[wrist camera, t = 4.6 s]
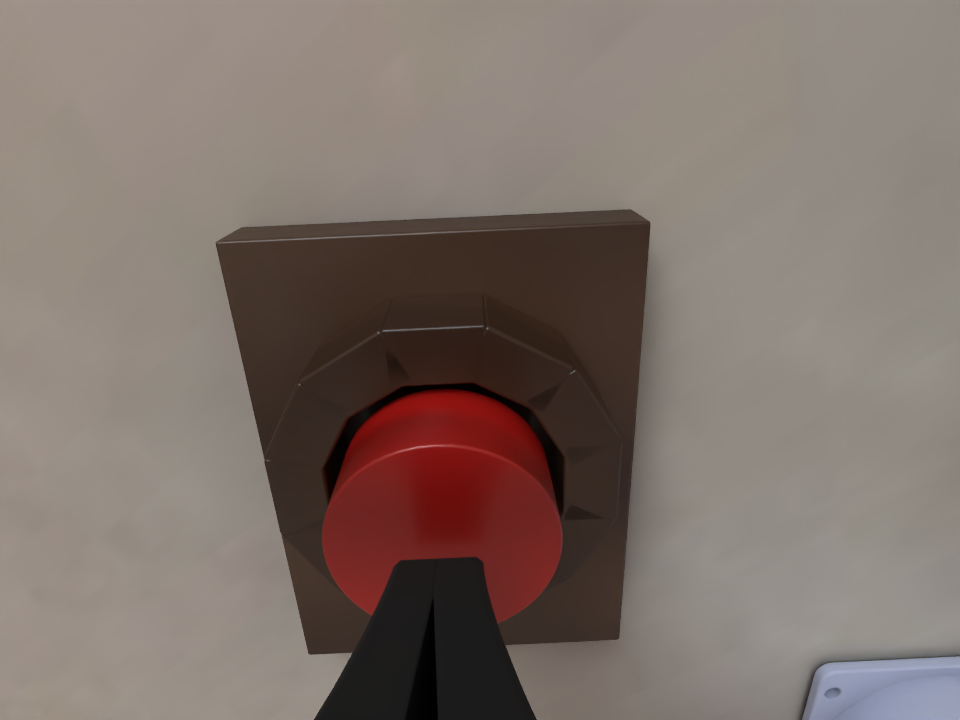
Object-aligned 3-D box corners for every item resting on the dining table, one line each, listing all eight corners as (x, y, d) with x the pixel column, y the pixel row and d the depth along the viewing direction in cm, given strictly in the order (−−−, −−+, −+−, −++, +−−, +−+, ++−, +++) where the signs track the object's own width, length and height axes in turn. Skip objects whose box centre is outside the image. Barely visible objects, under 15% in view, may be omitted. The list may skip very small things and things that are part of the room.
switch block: (607, 599, 18) (637, 705, 15) (319, 613, 18) (288, 723, 15) (632, 209, 13) (684, 243, 10) (239, 227, 13) (169, 266, 10)
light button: (547, 553, 14) (561, 629, 12) (357, 562, 14) (339, 641, 12) (548, 381, 12) (565, 439, 10) (329, 392, 12) (302, 451, 10)
